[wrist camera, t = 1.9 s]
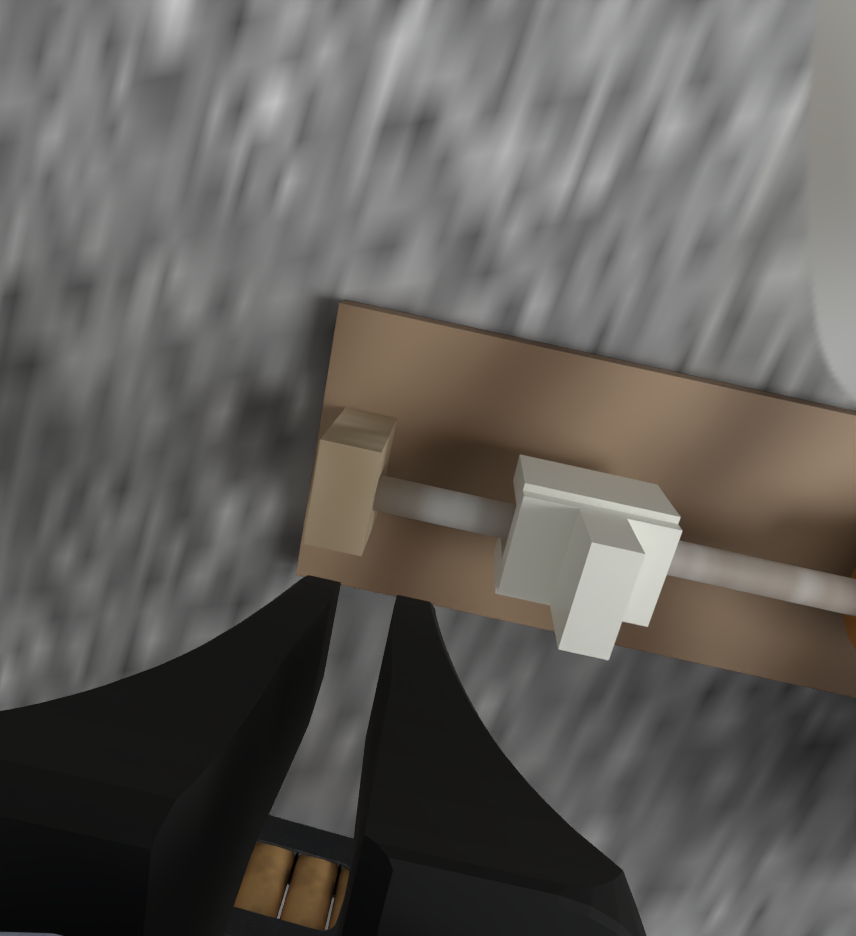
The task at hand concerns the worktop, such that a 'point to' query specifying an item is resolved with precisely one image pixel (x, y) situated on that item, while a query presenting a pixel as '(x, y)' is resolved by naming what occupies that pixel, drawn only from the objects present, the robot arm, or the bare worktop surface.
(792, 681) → the rail board
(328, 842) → the ammunition clip
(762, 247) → the worktop surface
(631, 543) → the white slotted bracket
